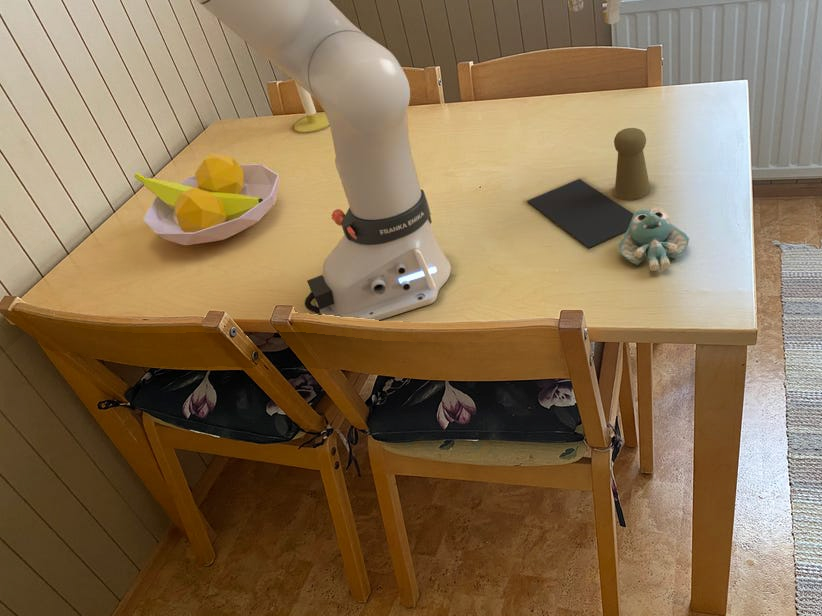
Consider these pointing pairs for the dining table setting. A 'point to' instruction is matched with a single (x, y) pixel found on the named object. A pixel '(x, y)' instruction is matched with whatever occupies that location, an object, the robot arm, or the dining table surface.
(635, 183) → the cork
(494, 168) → the dining table surface
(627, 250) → the stuffed animal
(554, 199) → the mat
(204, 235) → the fruit bowl
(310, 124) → the candle
